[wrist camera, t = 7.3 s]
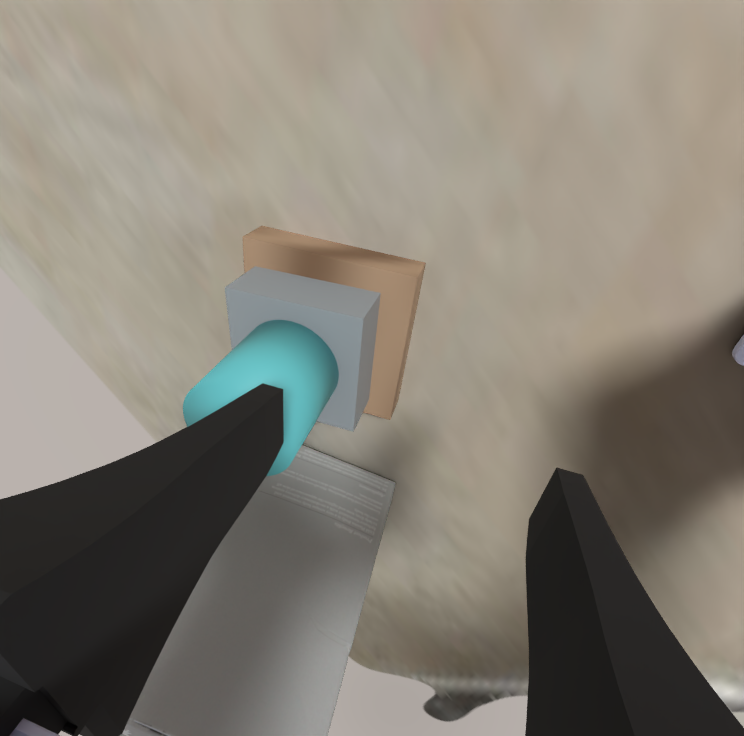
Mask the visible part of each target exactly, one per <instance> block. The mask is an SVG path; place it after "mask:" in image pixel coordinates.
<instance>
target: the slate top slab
mask: <svg viewBox="0 0 744 736" xmlns="http://www.w3.org/2000/svg"><path fill="white" fill-rule="evenodd" d="M225 293H226V302H227V311H228V319H229V328H230V337H231V345H232V350H233V349H234V348H235V347H236V346H237V345H238V344H239V343H240V342H241V341H242V340H243V339H244V338H245V337H246V336H247V335H248V334H249V333H250V332H251V331H253V330H254V329H255V328H256V327H257V326H258V325H260V324H262V323H264V322H267V321H271V320H287V321H292V322H295V323H298V324H301V325H303V326H305V327H307V328H308V329H310V330H312V331H313V332H314V333H316V334H317V335H318V336H319V337H320V338H322V339H323V341H324V342H325V343H326V344H327V345H328V346H329V348H330V349H331V351H332V353H333V354H334V356H335V359H336V361H337V365H338V370H339V379H338V384H337V387H336V389H335V390H334V392H333V394H332V395H331V397H330V399H329V400H328V402H327V404H326V405H325V407H324V409H323V411H322V412H321V414H320V416H319V417H318V419H317V422H321V423H324V424H328V425H332V426H335V427H339V428H342V429H346V430H350V431H354V429H355V427H356V425H357V423H358V421H359V419H360V417H361V415H362V413H363V411H364V409H365V407H366V405H367V403H368V401H369V395H370V386H371V377H372V368H373V359H374V349H375V340H376V331H377V322H378V313H379V304H380V295H381V293H379V292H374V291H369V290H365V289H360V288H355V287H350V286H346V285H341V284H336V283H332V282H327V281H322V280H318V279H313V278H308V277H304V276H299V275H294V274H289V273H285V272H280V271H275V270H271V269H266V268H261V267H257V266H255V267H253V268H252V269H250V270H249V271H247V272H246V273H245V274H243V275H242V276H240V277H239V278H238V279H236V280H235V281H233V282H232V283H230V284H229V285H228V286H226V287H225Z"/></svg>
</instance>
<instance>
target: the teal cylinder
mask: <svg viewBox="0 0 744 736" xmlns="http://www.w3.org/2000/svg"><path fill="white" fill-rule="evenodd" d="M338 379H339V370H338V365H337V361H336V359H335V356H334V354H333V353H332V351H331V349H330V348H329V346H328V345H327V344H326V343H325V342H324V341H323V339H322V338H320V337H319V336H318V335H317V334H316V333H314V332H313V331H312V330H310V329H308V328H307V327H305V326H303V325H301V324H298V323H295V322H292V321H287V320H271V321H267V322H264V323H262V324H260V325H258V326H257V327H256V328H255V329H254V330H253V331H251V332H250V333H249V334H248V335H247V336H246V337H245V338H244V339H243V340H242V341H241V342H240V343H239V344H238V345H237V346H236V347H235V348H234V349H233V350H232V351H231V352H230V353H229V354H228V355H227V356H226V357H225V358H223V359H222V360H221V361H220V362H219V363H218V364H217V365H216V366H215V367H214V368H213V369H212V370H211V371H210V372H209V373H208V374H207V375H206V376H205V377H204V378H203V379H202V380H201V381H200V382H199V383H198V384H197V385H196V386H194V387H193V388H192V389H191V390H190V391H189V393H188V394H187V396H186V397H185V400H184V404H183V414H184V418H185V422H186V424H187V427H188V426H190V425H192V424H194V423H195V422H197V421H199V420H201V419H202V418H204V417H206V416H208V415H209V414H211V413H213V412H215V411H216V410H218V409H220V408H222V407H223V406H225V405H227V404H228V403H230V402H232V401H233V400H235V399H237V398H238V397H240V396H242V395H243V394H245V393H247V392H248V391H250V390H252V389H254V388H255V387H257V386H259V385H260V384H262V383H264V384H267V385H271V386H274V387H278V388H281V389H283V424H284V443H283V445H282V447H281V449H280V451H279V453H278V455H277V457H276V459H275V461H274V463H273V465H272V467H271V469H270V470H269V472H268V474H267V476H272V475H276V474H279V473H281V472H283V471H284V470H286V469H287V468H288V467H289V466H290V464H291V462H292V461H293V459H294V457H295V456H296V454H297V452H298V451H299V449H300V447H301V446H302V444H303V442H304V441H305V439H306V437H307V436H308V434H309V432H310V431H311V429H312V427H313V426H314V424H315V422H316V421H317V419H318V417H319V416H320V414H321V412H322V411H323V409H324V407H325V405H326V404H327V402H328V400H329V399H330V397H331V395H332V394H333V392H334V390H335V389H336V387H337V384H338Z"/></svg>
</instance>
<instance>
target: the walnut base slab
mask: <svg viewBox="0 0 744 736" xmlns="http://www.w3.org/2000/svg"><path fill="white" fill-rule="evenodd" d="M243 253H244V271H245V273H246V272H247V271H249V270H250V269H252V268H253V267H255V266H257V267H261V268H266V269H271V270H275V271H280V272H285V273H289V274H294V275H299V276H304V277H308V278H313V279H318V280H322V281H327V282H332V283H336V284H341V285H346V286H350V287H355V288H360V289H365V290H369V291H374V292H379V293H381V295H380V304H379V313H378V322H377V331H376V340H375V349H374V359H373V368H372V377H371V386H370V395H369V401H368V403H367V405H366V407H365V409H364V411H363V412H364V413H368V414H371V415H375V416H378V417H382V418H385V419H388V420H390V419H391V417H392V414H393V412H394V409H395V407H396V404H397V402H398V399H399V394H400V389H401V384H402V379H403V374H404V369H405V364H406V359H407V354H408V349H409V344H410V339H411V334H412V329H413V324H414V319H415V314H416V309H417V304H418V299H419V294H420V289H421V284H422V279H423V274H424V269H425V264H426V263H424V262H419V261H415V260H410V259H406V258H402V257H397V256H393V255H388V254H384V253H380V252H375V251H371V250H366V249H362V248H357V247H353V246H349V245H344V244H340V243H335V242H331V241H327V240H322V239H318V238H313V237H309V236H304V235H300V234H296V233H291V232H287V231H282V230H278V229H274V228H269V227H265V226H261V227H259V228H257V229H255V230H254V231H252V232H250V233H249V234H247V235H245V236H243Z"/></svg>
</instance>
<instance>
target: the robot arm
mask: <svg viewBox="0 0 744 736" xmlns="http://www.w3.org/2000/svg"><path fill="white" fill-rule="evenodd" d="M732 356H733V358H734V359H735V361H736V362H737V363H738V364H740V365H743V366H744V335H743V336H742V337H741V339H740V340H739V342H738V343H737V344H736V346H735V347H734V349H733V351H732ZM283 443H284V424H283V389H281V388H278V387H274V386H271V385H267V384H264V383H262V384H260V385H259V386H257V387H255V388H254V389H252V390H250V391H248V392H247V393H245V394H243V395H242V396H240V397H238V398H237V399H235V400H233V401H232V402H230V403H228V404H227V405H225V406H223V407H222V408H220V409H218V410H216V411H215V412H213V413H211V414H209V415H208V416H206V417H204V418H202V419H201V420H199V421H197V422H195V423H194V424H192V425H190V426H188V427H186V428H184V429H182V430H180V431H179V432H177V433H175V434H173V435H171V436H169V437H167V438H165V439H163V440H161V441H159V442H157V443H155V444H153V445H151V446H149V447H147V448H145V449H143V450H140V451H138V452H136V453H133V454H131V455H129V456H126V457H124V458H122V459H119V460H117V461H115V462H112V463H110V464H107V465H105V466H102V467H99V468H97V469H94V470H91V471H88V472H86V473H83V474H80V475H77V476H74V477H72V478H69V479H66V480H63V481H61V482H57V483H54V484H51V485H48V486H45V487H41V488H38V489H35V490H32V491H29V492H25V493H22V494H18V495H15V496H11V497H8V498H4V499H0V736H60V735H58V734H59V732H60V731H64V732H66V733H68V734H70V735H72V736H78V735H79V734H80V735H82V736H120V735H121V734H122V733H123V731H124V729H125V726H126V724H127V722H128V720H129V718H130V715H131V713H132V711H133V709H134V707H135V705H136V703H137V701H138V698H139V696H140V694H141V692H142V690H143V688H144V686H145V684H146V682H147V679H148V677H149V675H150V673H151V671H152V669H153V667H154V665H155V663H156V661H157V659H158V657H159V655H160V653H161V651H162V649H163V647H164V645H165V643H166V641H167V639H168V637H169V635H170V633H171V631H172V629H173V627H174V625H175V623H176V621H177V620H178V618H179V616H180V614H181V612H182V610H183V608H184V606H185V604H186V603H187V601H188V599H189V597H190V595H191V593H192V591H193V589H194V588H195V586H196V584H197V582H198V580H199V579H200V577H201V575H202V573H203V571H204V570H205V568H206V566H207V564H208V562H209V561H210V559H211V557H212V556H213V554H214V552H215V551H216V549H217V548H218V546H219V545H220V543H221V541H222V540H223V539H224V537H225V536H226V534H227V533H228V531H229V530H230V528H231V527H232V525H233V524H234V523H235V521H236V520H237V518H238V517H239V515H240V514H241V512H242V511H243V510H244V508H245V507H246V505H247V504H248V502H249V501H250V499H251V498H252V497H253V495H254V494H255V492H256V491H257V489H258V488H259V486H260V485H261V483H262V482H263V480H264V479H265V477H266V476H267V474H268V472H269V470H270V469H271V467H272V465H273V463H274V461H275V459H276V457H277V455H278V453H279V451H280V449H281V447H282V445H283ZM526 584H527V611H528V636H529V686H528V704H527V722H526V734H525V735H526V736H744V728H743V726H742V725H741V724H740V723H739V721H738V720H737V719H736V718H735V716H734V715H733V714H732V713H731V711H730V710H729V709H728V707H727V706H726V705H725V704H724V702H723V701H722V700H721V699H720V697H719V696H718V695H717V694H716V692H715V691H714V690H713V688H712V687H711V686H710V684H709V683H708V682H707V680H706V679H705V678H704V676H703V675H702V674H701V672H700V671H699V670H698V668H697V667H696V666H695V664H694V663H693V662H692V660H691V659H690V657H689V656H688V654H687V653H686V652H685V650H684V649H683V647H682V646H681V645H680V643H679V642H678V640H677V639H676V637H675V636H674V635H673V633H672V632H671V630H670V629H669V627H668V626H667V624H666V623H665V621H664V620H663V618H662V617H661V615H660V614H659V612H658V611H657V609H656V607H655V606H654V604H653V602H652V601H651V599H650V598H649V596H648V594H647V593H646V591H645V590H644V588H643V586H642V585H641V583H640V581H639V580H638V578H637V576H636V574H635V573H634V571H633V569H632V567H631V566H630V564H629V562H628V560H627V559H626V557H625V555H624V553H623V551H622V550H621V548H620V546H619V544H618V542H617V541H616V539H615V537H614V535H613V533H612V531H611V529H610V527H609V525H608V523H607V521H606V520H605V518H604V516H603V514H602V512H601V510H600V508H599V506H598V504H597V502H596V500H595V498H594V496H593V494H592V492H591V490H590V488H589V486H588V484H587V482H586V480H585V478H584V476H583V475H581V474H577V473H574V472H570V471H567V470H563V469H560V468H556V470H555V472H554V474H553V475H552V477H551V479H550V481H549V483H548V485H547V487H546V489H545V490H544V492H543V494H542V496H541V498H540V500H539V502H538V503H537V505H536V507H535V509H534V511H533V513H532V515H531V517H530V518H529V526H528V537H527V549H526Z"/></svg>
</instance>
